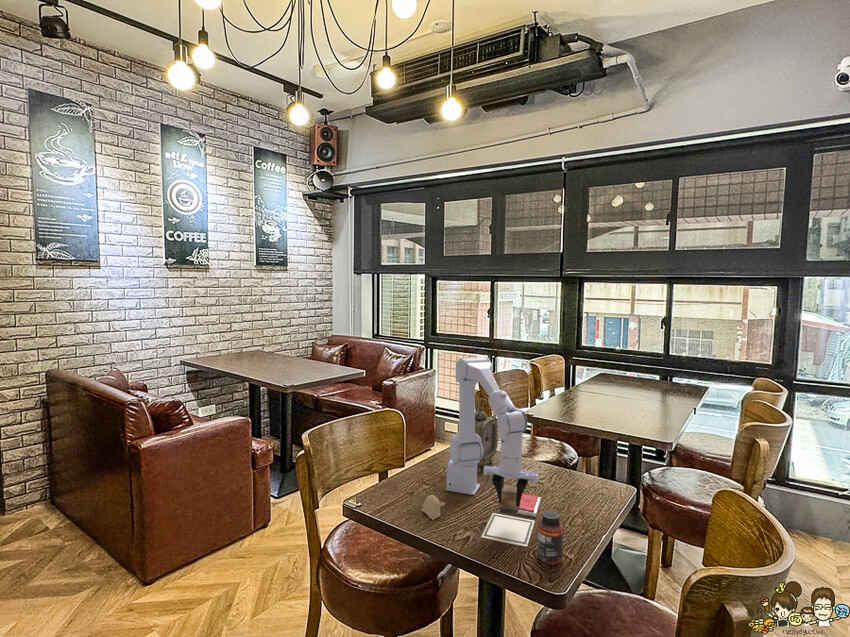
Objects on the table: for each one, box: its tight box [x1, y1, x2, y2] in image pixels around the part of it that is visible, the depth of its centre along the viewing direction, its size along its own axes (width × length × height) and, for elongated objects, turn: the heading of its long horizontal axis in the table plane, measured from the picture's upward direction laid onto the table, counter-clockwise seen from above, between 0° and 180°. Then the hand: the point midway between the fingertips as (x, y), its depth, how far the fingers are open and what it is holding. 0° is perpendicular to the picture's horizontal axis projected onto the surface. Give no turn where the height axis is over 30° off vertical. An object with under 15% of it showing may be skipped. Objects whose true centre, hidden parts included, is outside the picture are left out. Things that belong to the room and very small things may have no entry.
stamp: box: [499, 484, 520, 516], centre depth 131 cm, size 5×5×6 cm
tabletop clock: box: [475, 398, 499, 474], centre depth 175 cm, size 14×9×25 cm, turn 149°
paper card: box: [480, 512, 536, 548], centre depth 132 cm, size 12×14×1 cm
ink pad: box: [517, 493, 542, 518], centre depth 145 cm, size 10×11×2 cm
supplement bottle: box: [537, 510, 564, 566], centre depth 118 cm, size 6×6×11 cm
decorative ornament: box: [420, 494, 446, 521], centre depth 139 cm, size 4×8×5 cm, turn 28°
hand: (509, 503), depth 131 cm, fingers closed on stamp, 4 cm apart
